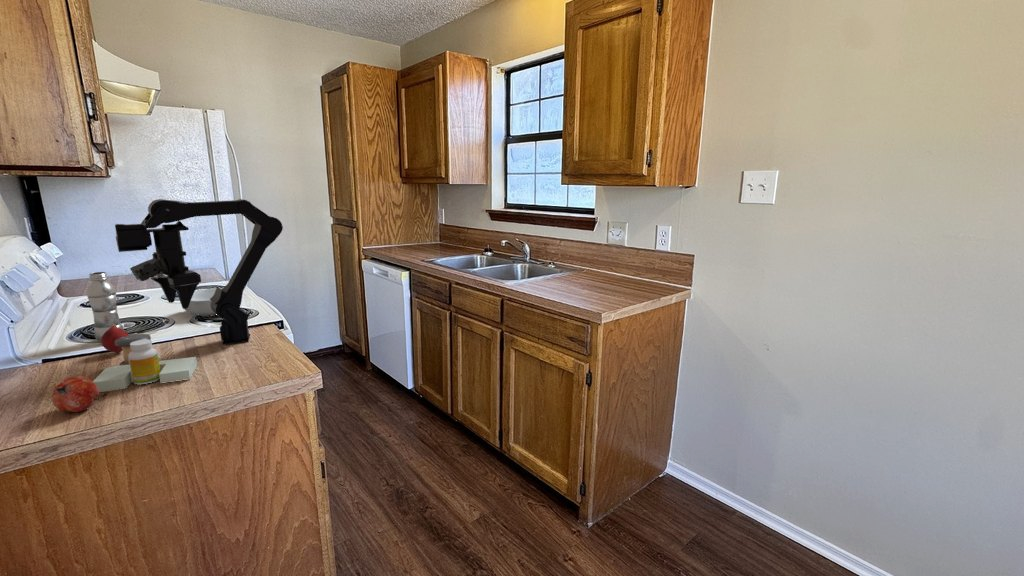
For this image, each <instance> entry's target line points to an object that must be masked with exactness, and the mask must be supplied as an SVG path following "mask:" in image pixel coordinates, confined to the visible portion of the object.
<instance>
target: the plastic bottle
mask: <svg viewBox="0 0 1024 576" xmlns="http://www.w3.org/2000/svg"><path fill="white" fill-rule="evenodd" d="M88 275H89V281H90V282H91V283H90V284H89V286H88V287H87V289H86V291H85V292H86V293H85V294H86V297H87V300H88V302H89V304H90V307H91V311H92V315H93V322H94V328H93V329H94V330H93V332H94V333H93V334H94V337H95V339H96V340H97V341H98V342H99V343H101V339H102V336H103V334H104V333H105V332H106V331H107V330H108V329H110V327H111V326H112V325H117V328H120V329H122V330H124V327H123V324H122V323H121V320H120V316H119V313H118V307H117V290H116V287H115V286H114V285H113V284H112V283H111V282H109V281H108V279H109V278H108V276H107V272H106V271H96V272H95V271H94V272H91V273H89V274H88ZM124 331H125V330H124Z"/></svg>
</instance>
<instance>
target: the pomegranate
mask: <svg viewBox="0 0 1024 576" xmlns="http://www.w3.org/2000/svg"><path fill="white" fill-rule="evenodd" d="M93 381H94V380H92V379H90V378H89V377H87V376H84V375H73V376H70V377H67V378H65V379H64V380H63V381H62V382H60V383H58V384H56V385H55V386H54V389H53V392H52V393H53V394H52V395H51V402H52V404H53V406H54V407H55V408H56V409H58V410H59V411H62V412H72V413H80V412H83V410H84V411H87V410H88V409H89V408H91V407H92V406H93V405H94V403H95V402H94V400H95V401H98V400H97V399H98V398H97V397H98V396H99V394H100V392H99V390H98V388H97V386H96V384H95V383H94V382H93ZM87 408H88V409H87ZM86 409H87V410H86ZM79 411H80V412H79Z"/></svg>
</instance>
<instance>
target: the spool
mask: <svg viewBox="0 0 1024 576" xmlns="http://www.w3.org/2000/svg"><path fill="white" fill-rule="evenodd" d="M128 335H129V336H124V337H121V338H119V339H117V340H115V345H116V346H120V347H122V355H123V361H121V362H120V363H119V365H118V366H122V365H130V364H129V359H128V355H129V353H130V352H132V350H131V349H130V343H131V342H134V341H137V340H144V339H148V340H151V341H152V339H151V338H152V337H151V335H150V334H148V333H147V334H146V333H138V334H137V333H136V334H128Z"/></svg>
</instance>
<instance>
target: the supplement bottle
mask: <svg viewBox="0 0 1024 576" xmlns="http://www.w3.org/2000/svg"><path fill="white" fill-rule="evenodd" d="M130 349H131V350H132V352H130V353H129V355H128V359H129V364H130V369H131V375H132V380H133V381H132V383H133V385H136V384H137V385H136V386H142V385H141V384H146V385H148V384H147V383H151V384H153V383H152V382H154V383H155V381H156V382H158V381H160V380H159V379H160V377H159V374H160V372H161V371H160V365H159V361H160V360H159V359H160V358H159V353H158V350H157V349H156V348H154V347H153V342H152V339H151V340H148V339H144V340H137V341H134V342H131V343H130ZM157 380H158V381H157Z"/></svg>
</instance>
